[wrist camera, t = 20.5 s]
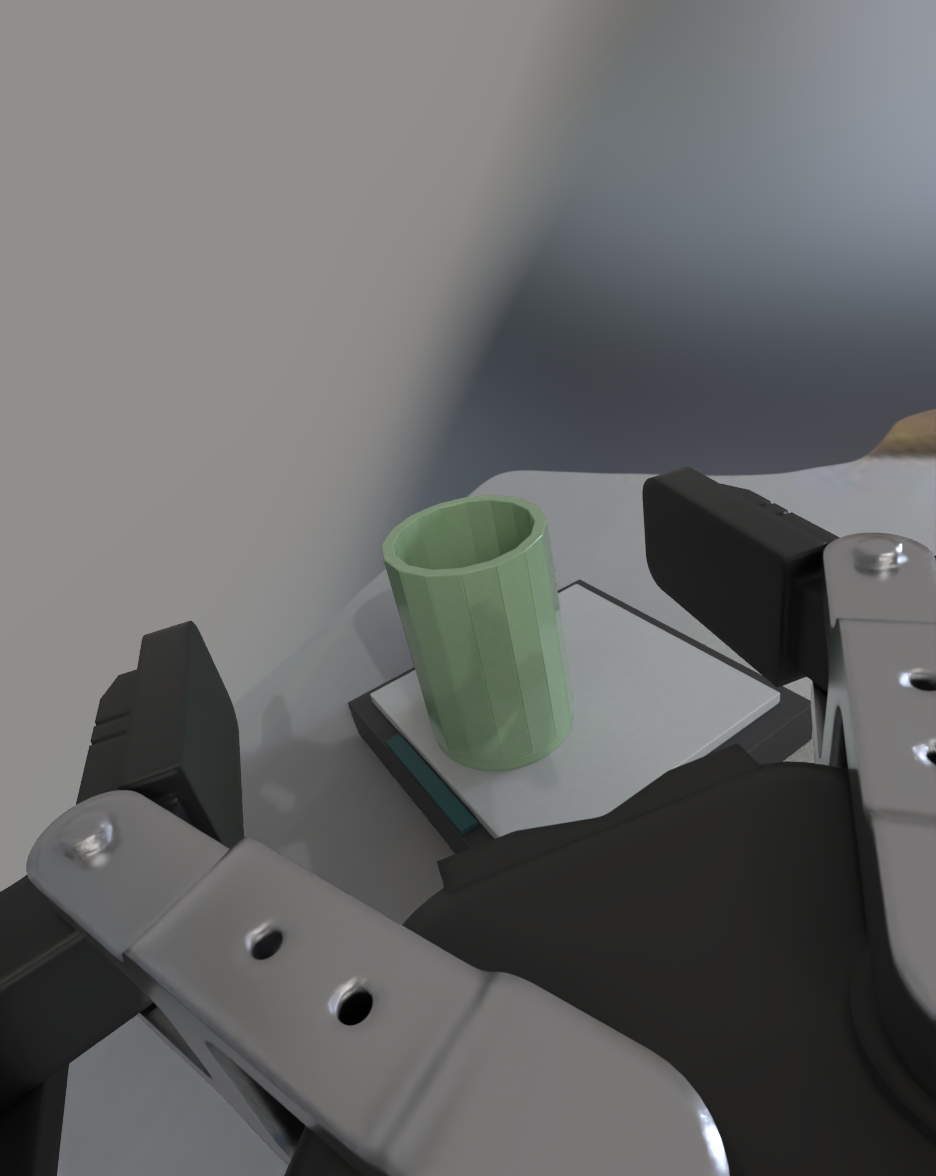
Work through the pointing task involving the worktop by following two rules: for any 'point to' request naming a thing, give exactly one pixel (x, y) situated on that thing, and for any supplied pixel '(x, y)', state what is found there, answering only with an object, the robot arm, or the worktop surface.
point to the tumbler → (484, 628)
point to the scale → (590, 726)
